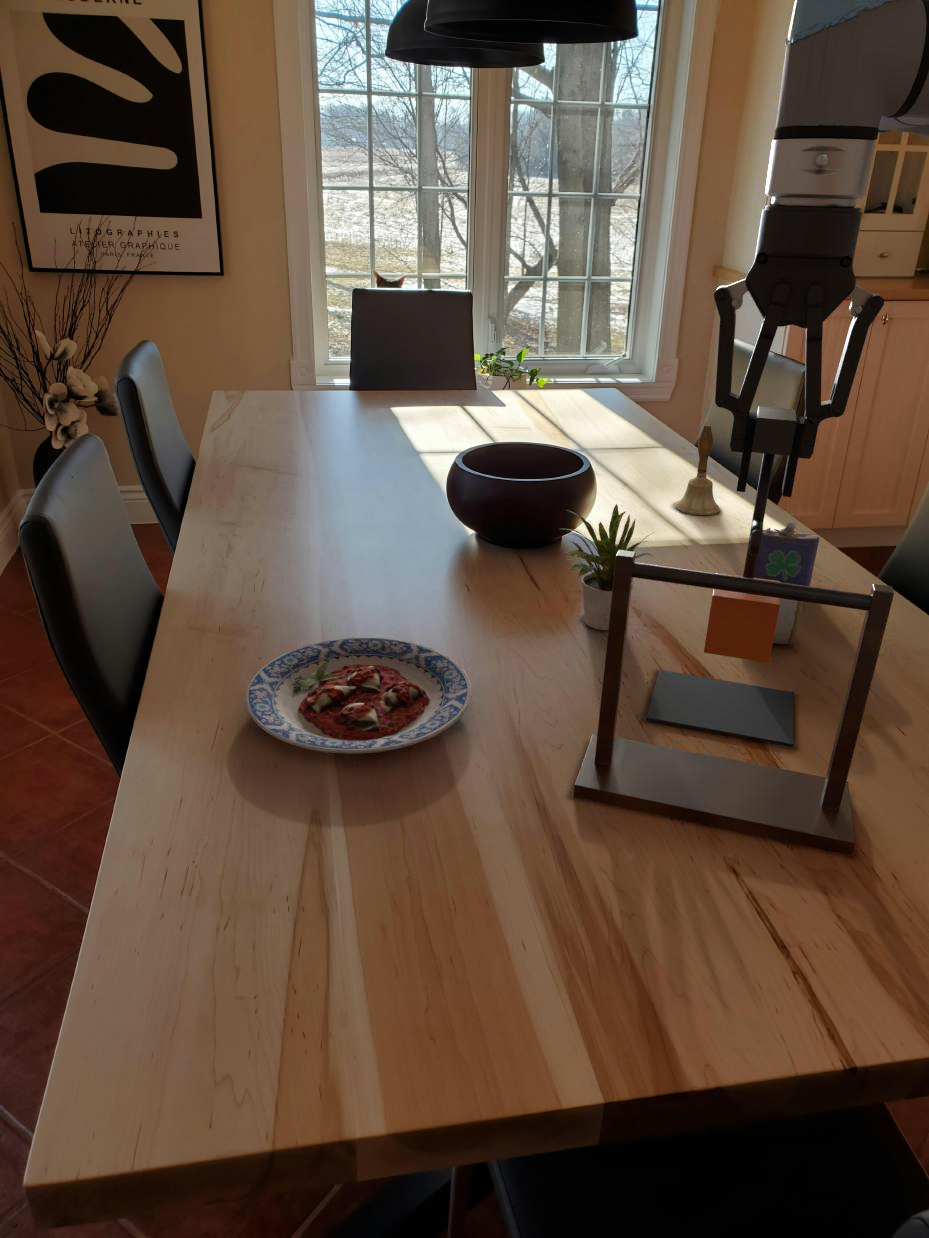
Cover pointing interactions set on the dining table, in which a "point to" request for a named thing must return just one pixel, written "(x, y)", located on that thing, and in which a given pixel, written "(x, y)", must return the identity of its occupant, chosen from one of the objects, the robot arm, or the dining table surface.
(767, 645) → the orange block with hook
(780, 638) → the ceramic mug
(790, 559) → the flask
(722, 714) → the mat
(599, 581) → the house plant
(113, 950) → the dining table surface
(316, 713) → the ceramic plate
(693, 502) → the hand bell
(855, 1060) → the dining table surface
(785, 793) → the rack
